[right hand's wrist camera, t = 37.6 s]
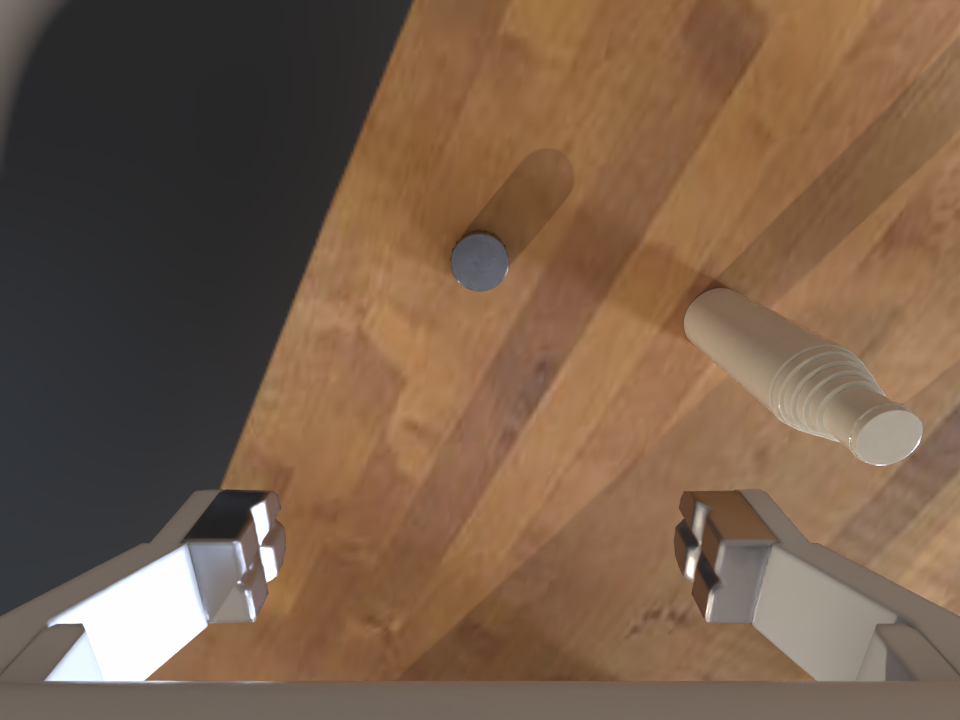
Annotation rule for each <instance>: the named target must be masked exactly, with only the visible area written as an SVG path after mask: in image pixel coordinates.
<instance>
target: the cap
mask: <svg viewBox="0 0 960 720" xmlns="http://www.w3.org/2000/svg"><path fill="white" fill-rule="evenodd" d="M508 257H509V255H508V252H507V251H506V246H505V245H504V244H503V243H502V241H501V239H499V238H498V237H497V236H495V235H494V233H493V234H492V233H490V232H487V231H486V230H485V231H478V230H477V231H473V232H469V233H468V234H466V235H464V236H462V238H460V239H459V241H457V242H456V245H455V247H454V248H453V250H452V256H451V259H450V261H451V269H452V272H453V275H454V277H455V278H456V280H457V281H458V282H459V283H460V284H461V285H462V286H464V287H465V288H467V289H469V290H472V291H487V290H490V289H492V288H494V287H496V286H497V285H499V284H500V283H501V282H502V280H503V279H504V278H505V276H506V273H507V271H508V265H509V260H508Z"/></svg>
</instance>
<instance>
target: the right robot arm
mask: <svg viewBox="0 0 960 720" xmlns="http://www.w3.org/2000/svg"><path fill="white" fill-rule="evenodd" d="M280 509H281V506H280V501H279V496H278V494H277V493H276V492H275V491H265V490H198V491H195V492H194V493H193V494H192V495H191V496H190V497H189V499H188V500H187V501H186V502H185V503H184V504H183V505H182V507H181V508H180V509H179V510H178V511H177V512H176V514H175V515H174V516H173V517H172V518H171V519H170V521H169V522H168V523H167V524H166V525H165V526H164V527H163V529H162V530H161V531H160V532H159V533H158V534H157V536H156V537H155V538H154V539H153V540H152V541H151V543H142V544H140V545H138V546H136V547H134V548H132V549H130V550H128V551H126V552H124V553H122V554H120V555H118V556H116V557H114V558H112V559H110V560H109V561H107V562H105V563H103V564H101V565H99V566H97V567H95V568H93V569H91V570H89V571H87V572H85V573H83V574H81V575H80V576H78V577H76V578H74V579H72V580H70V581H68V582H66V583H64V584H62V585H60V586H58V587H56V588H54V589H52V590H50V591H48V592H47V593H45V594H43V595H41V596H39V597H37V598H35V599H33V600H31V601H29V602H27V603H25V604H23V605H21V606H19V607H18V608H16V609H14V610H12V611H10V612H8V613H6V614H4V615H2V616H0V720H960V616H958V615H956V614H954V613H952V612H950V611H948V610H946V609H944V608H942V607H940V606H938V605H936V604H934V603H932V602H931V601H929V600H927V599H925V598H923V597H921V596H919V595H917V594H915V593H913V592H911V591H909V590H907V589H905V588H904V587H902V586H900V585H898V584H896V583H894V582H892V581H890V580H888V579H886V578H884V577H882V576H880V575H878V574H876V573H875V572H873V571H871V570H869V569H867V568H865V567H863V566H861V565H859V564H857V563H855V562H853V561H851V560H849V559H848V558H846V557H844V556H842V555H840V554H838V553H836V552H834V551H832V550H830V549H828V548H826V547H824V546H822V545H820V544H819V543H809V541H808V540H807V539H806V538H805V537H804V536H803V534H802V533H801V532H800V531H799V530H798V529H797V527H796V526H795V525H794V524H793V523H792V522H791V521H790V519H789V518H788V517H787V516H786V515H785V514H784V512H783V511H782V510H781V509H780V508H779V507H778V505H777V504H776V503H775V502H774V501H773V500H772V499H771V497H770V496H769V495H768V494H767V493H766V492H765V491H762V490H760V489H752V490H734V491H684V493H683V495H682V497H681V500H680V505H679V509H680V511H681V513H682V515H683V517H684V519H683V520H682V521H681V522H680V523H679V524H678V525H677V526H676V530H675V537H674V546H675V556H676V559H677V563H678V566H679V568H680V570H681V572H682V575H683V576H684V577H686V578H687V579H688V580H690V581H691V582H693V589H692V595H693V597H694V599H695V601H696V603H697V605H698V607H699V609H700V611H701V613H702V616H703V618H704V620H705V622H722V623H753V624H752V626H753V627H754V628H756V629H757V630H758V631H759V632H760V633H761V634H763V635H764V636H765V637H766V638H767V639H768V640H770V641H771V642H772V643H773V644H774V645H775V646H777V647H778V648H779V649H780V650H781V651H782V652H784V653H785V654H786V655H787V656H788V657H789V658H791V659H792V660H793V661H794V662H795V663H796V664H798V665H799V666H800V667H801V668H802V669H803V670H805V671H806V672H807V673H808V674H809V675H810V676H812V677H813V678H814V679H815V680H816V681H144V680H145V679H146V678H147V677H149V676H150V675H151V674H152V673H153V672H154V671H156V670H157V669H158V668H159V667H160V666H161V665H163V664H164V663H165V662H166V661H167V660H168V659H170V658H171V657H172V656H173V655H174V654H175V653H177V652H178V651H179V650H180V649H181V648H182V647H184V646H185V645H186V644H187V643H188V642H190V641H191V640H192V639H193V638H194V637H195V636H197V635H198V634H199V633H200V632H201V631H202V630H204V629H205V628H206V627H207V626H208V624H207V623H237V622H255V620H256V618H257V616H258V614H259V612H260V610H261V607H262V605H263V603H264V601H265V599H266V597H267V595H268V589H267V582H269V581H270V580H272V579H273V578H274V577H276V576H277V575H278V572H279V570H280V568H281V566H282V563H283V559H284V554H285V550H286V536H285V529H284V526H283V525H282V524H281V523H280V522H279V521H278V520H277V519H276V517H277V515H278V513H279V511H280Z"/></svg>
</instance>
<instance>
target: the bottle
mask: <svg viewBox="0 0 960 720" xmlns="http://www.w3.org/2000/svg"><path fill="white" fill-rule="evenodd" d="M684 330H685V333H686V336H687V338H688V339H689V341H690V342H691V343H692V344H694V345H695V346H696V347H697V348H698V349H699V350H700V351H702V352H703V353H704V354H705V355H706V356H707V357H708V358H710V359H711V360H712V361H713V362H714V363H715V364H716V365H718V366H719V367H720V368H721V369H722V370H723V371H724V372H726V373H727V374H728V375H729V376H730V377H731V378H732V379H734V380H735V381H736V382H737V383H738V384H739V385H740V386H742V387H743V388H744V389H745V390H746V391H747V392H748V393H750V394H751V395H752V396H753V397H754V398H755V399H756V400H758V401H759V402H760V403H761V404H762V405H763V406H764V407H766V408H767V409H768V410H769V411H770V412H771V413H772V414H774V415H775V416H776V417H777V418H778V419H779V420H781V421H782V422H783V423H785V424H787V425H789V426H791V427H793V428H795V429H797V430H799V431H803V432H806V433H809V434H812V435H816V436H820V437H823V438H828V439H830V440H832V441H836V442H841V443H842V444H844V445H845V446H846V447H847V448H849V449H850V450H851V452H852V453H853V455H854V456H855V457H857V458H858V459H860V460H861V461H863V462H866V463H870V464H874V465H888V464H892V463H895V462H897V461H900V460H902V459H903V458H905V457H906V456H908V455H909V454H910V453H911V452H912V451H913V450H914V449H915V448H916V446H917V445H918V443H919V441H920V439H921V436H922V429H923V424H922V420H921V419H919V418H918V417H917V416H916V415H915V414H914V413H912V412H911V410H910V409H909V408H907V407H906V406H904V405H903V404H900V403H897V402H893V401H892V400H890V399H888V398H887V397H886V396H885V393H884V392H883V390H882V389H881V388H880V387H879V385H878V384H877V382H876V381H875V379H874V378H873V376H872V374H871V373H870V371H869V370H868V369H867V368H866V366H865V364H864V363H863V362H862V361H861V360H860V359H859V358H857V357H856V356H855V355H854V354H853V353H852V352H851V351H849V350H848V349H846V348H844V347H842V346H840V345H838V344H836V343H834V342H832V341H830V340H829V339H827V338H825V337H823V336H821V335H819V334H817V333H815V332H813V331H811V330H809V329H807V328H806V327H804V326H802V325H800V324H798V323H796V322H794V321H792V320H790V319H788V318H786V317H785V316H783V315H781V314H779V313H777V312H775V311H773V310H771V309H769V308H767V307H765V306H763V305H762V304H760V303H758V302H756V301H754V300H752V299H750V298H748V297H746V296H744V295H742V294H740V293H739V292H737V291H734V290H732V289H728V288H716V289H712V290H709V291H706V292H705V293H703V294H701V295H700V296H698V297H697V298H696V299H695V300H694V301H693V302H692V303H691V305H690V306H689V308H688V310H687V312H686V314H685V318H684Z"/></svg>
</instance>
